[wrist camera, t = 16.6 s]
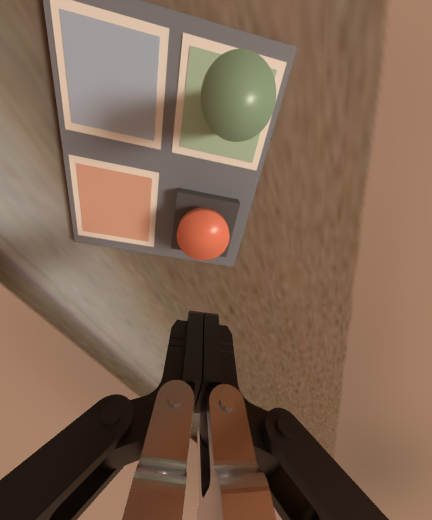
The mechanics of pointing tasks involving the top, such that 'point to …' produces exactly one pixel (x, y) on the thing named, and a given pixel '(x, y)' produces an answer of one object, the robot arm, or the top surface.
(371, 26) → the top surface
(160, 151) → the colouring board
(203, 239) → the button
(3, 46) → the top surface
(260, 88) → the green rounded rod
